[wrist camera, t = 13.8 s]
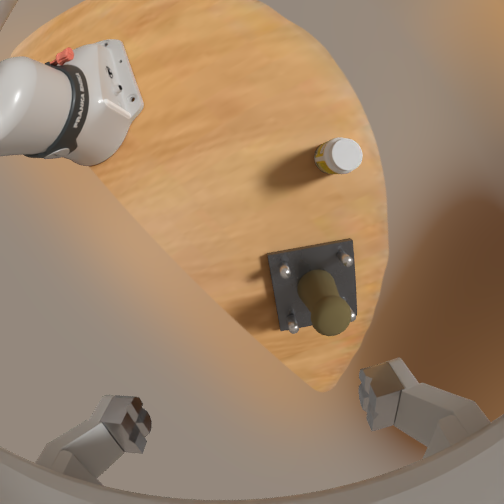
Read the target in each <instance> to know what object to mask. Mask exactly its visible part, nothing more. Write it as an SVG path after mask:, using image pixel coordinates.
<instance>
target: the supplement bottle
mask: <svg viewBox="0 0 504 504" xmlns="http://www.w3.org/2000/svg"><path fill="white" fill-rule="evenodd" d="M314 159H315V163H316V165H317V167H318V168H319V169H320V170H321V171H322V172H324V173H327V174H346V173H349V172H351V171H352V170H354V169H356V168H357V167H358V166H359V165H360V163H361V161H362V150H361V148H360V146H359V145H358V144H357V143H356V142H355V141H354V140H351V139H348V138H334V139H332V140H330V141H327V142H325V143H323V144H321V145H320V146H319V147H318V148H317V149H316V151H315V156H314Z"/></svg>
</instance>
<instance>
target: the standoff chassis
mask: <svg viewBox="0 0 504 504" xmlns="http://www.w3.org/2000/svg"><path fill="white" fill-rule="evenodd" d="M267 255H268V261H269V266H270V272H271V278H272V283H273V289H274V295H275V301H276V307H277V313H278V318H279V324H280V330H281V331H284V330H289V331H290V333H293V334H295V333H297V332H298V330H299V328H301V327H306V326H311V325H312V322H311V312H310V311H309V310H308V308H307V307H306V306H305V304H304V303H303V302H302V300H301V299H300V298H299V295H298V292H297V286H298V283H299V281H300V279H301V278H302V276H303V275H305V274H306V273H307V272H309V271H312V270H319V269H320V270H324V271H327V272H328V273H330V274H331V276H332V277H333V278H334V281H335V284H336V287H337V290H338V293H339V296H340V297H341V298H342V299H344V300H345V301H346V302H347V304H348V305H349V306H350V309H351V321H350V322H352V321H354V320H355V319H356V316H357V300H356V280H355V264H354V251H353V240H352V239H350V238H349V239H344V240H338V241H333V242H327V243H322V244H316V245H310V246H305V247H299V248H294V249H288V250H282V251H277V252H271V253H267Z"/></svg>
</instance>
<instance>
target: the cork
mask: <svg viewBox="0 0 504 504" xmlns="http://www.w3.org/2000/svg"><path fill="white" fill-rule="evenodd" d="M297 292H298V295H299V298H300V299H301V300H302V302H303V303H304V304H305V306H306V307H307V308H308V310H309V311H310V312H311V322H312V325H313V327H314V328H315V329H316V331H317V332H319V333H320V334H322V335H326V336H334V335H337V334H340V333H341V332H343V331H344V330H345V329H346V328H347V327H348V325H349V323H350V321H351V309H350V306H349V305H348V304H347V302H346V301H345V300H344V299H342V298H341V297H340V296H339V293H338V290H337V287H336V284H335V281H334V278H333V277H332V276H331V274H330V273H328V272H327V271H324V270H320V269H319V270H312V271H309V272H307V273H306V274H305V275H303V276H302V278H301V279H300V281H299V283H298V286H297Z"/></svg>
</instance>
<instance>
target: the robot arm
mask: <svg viewBox="0 0 504 504" xmlns="http://www.w3.org/2000/svg"><path fill="white" fill-rule="evenodd" d="M17 1H18V0H0V31H1V29H2V27H3V25H4V24H5V22H6V20H7V18H8V17H9V15H10V13H11V12H12V10H13V8H14V6H15V5H16V3H17ZM107 44H108V45H107ZM106 45H107V46H106ZM105 46H106V47H105ZM133 98H135V100H134V101H133V102H132V99H133ZM143 106H144V103H143V100H142V97H141V94H140V92H139V89H138V86H137V83H136V80H135V77H134V75H133V72H132V69H131V66H130V63H129V60H128V57H127V54H126V51H125V48H124V45H123V43H122V42H121V41H120V40H115V39H110V40H104V41H100V42H97V43H94V44H88V45H84V46H81V47H78V48H76V49H74V50H72V49H71V48H69V47H68V48H66V49H65V50H64V51H62V52H61V53H58V54H57V55H56V59H55V60H54V61H52V62H47V63H45V64H43V63H40V62H38V61H36V60H33V59H30V58H28V57H23V56H22V57H13V58H9V59H5V60H3V61H1V62H0V156H7V155H19V154H23V155H25V156H27V157H31V158H44V159H53V158H60V157H64V158H67V159H70V160H72V161H73V162H75V163H77V164H79V165H83V166H91V165H96V164H99V163H101V162H103V161H105V160H106V159H108V158H109V157H110V156H111V155H113V154H114V153H115V151H116V150H117V149H118V148H119V147H120V145H121V144H122V142H123V140H124V138H125V136H126V134H127V132H128V129H129V127H130V124H131V123H132V121H133V120H134V119H135V118H136V117H137V116H138V115H139V113H140V112H141V111H142V109H143ZM359 378H360V380H361V382H362V383H361V384H360V386H359V399H360V403H361V406H362V409H363V410H364V411H366V412H367V421H368V423H369V426H370V428H371V430H372V431H375V430H378V429H382V428H385V427H388V426H392V425H394V426H395V427H397V428H398V429H400V430H402V431H403V432H405V433H406V434H408V435H409V436H411V437H413V438H414V439H416V440H417V441H419V442H421V443H422V444H424V445H426V446H427V447H428V448H427V450H426V453H425V455H424V457H423V459H422V460H420V461H417V462H415V463H412V464H410V465H407V466H405V467H402V468H400V469H397V470H394V471H391V472H388V473H385V474H382V475H380V476H376V477H373V478H370V479H366V480H363V481H359V482H356V483H352V484H348V485H344V486H340V487H336V488H331V489H327V490H322V491H316V492H311V493H305V494H299V495H291V496H284V497H275V498H264V499H251V500H250V499H249V500H195V499H180V498H170V497H161V496H153V495H146V494H140V493H134V492H129V491H124V490H119V489H114V488H110V487H106V486H104V485H102V483H101V482H99V481H98V480H97V478H98V477H99V476H100V475H101V474H102V473H103V472H104V471H106V470H107V469H108V468H109V467H110V466H111V465H112V464H113V463H114V462H115V461H116V460H117V459H118V458H120V457H121V456H122V455H123V454H124V452H130V453H141V454H142V453H143V451H144V448H145V445H146V442H147V441H146V439H145V437H146V436H147V435H148V434H149V433H150V431H151V418H150V415H149V414H148V412H147V411H146V410H145V409H143V408H142V405H143V403H142V401H141V400H140V398H139V397H133V396H113V395H105V396H103V397H102V399H101V400H100V402H99V404H98V406H97V407H96V409H95V411H94V412H93V414H92V416H91V417H90V419H89V421H87V420H85V421H84V422H82V423H81V424H79V425H77V426H76V427H74V428H73V429H71V430H69V431H68V432H66V433H64V434H63V435H61V436H60V437H58V438H56V439H54V440H53V441H51V442H49V443H48V444H46V446H45V448H44V449H43V451H42V453H41V454H40V456H39V458H38V459H37V461H36V463H34V462H31V461H29V460H27V459H25V458H23V457H20V456H18V455H16V454H14V453H12V452H10V451H8V450H6V449H4V448H2V447H0V504H504V414H503V415H502V416H500V417H499V418H497V419H496V420H494V421H493V422H492V423H490V421H489V420H488V419H487V417H486V416H485V415H484V413H483V412H482V411H481V409H480V408H479V407H478V405H477V404H476V403H475V402H474V401H472V400H469V399H466V398H463V397H460V396H457V395H454V394H452V393H449V392H446V391H443V390H441V389H438V388H435V387H433V386H430V385H427V384H425V383H421V384H419V383H418V382H417V380H416V379H415V377H414V376H413V375H412V373H411V372H410V370H409V369H408V368H407V366H406V365H405V363H404V362H403V361H402V359H401V358H396V359H393V360H390V361H387V362H384V363H381V364H377V365H374V366H371V367H367V368H364V369H360V373H359Z"/></svg>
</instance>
